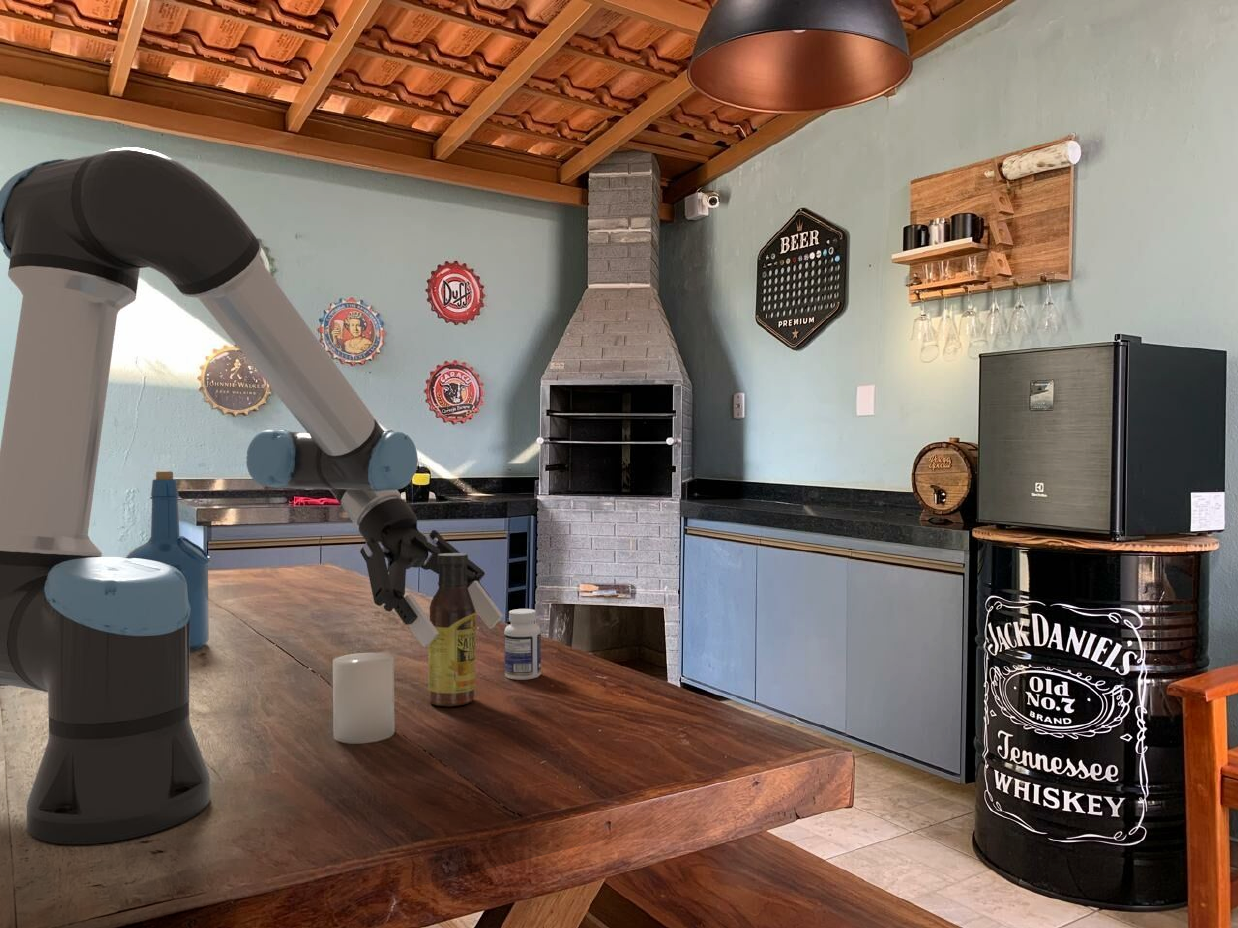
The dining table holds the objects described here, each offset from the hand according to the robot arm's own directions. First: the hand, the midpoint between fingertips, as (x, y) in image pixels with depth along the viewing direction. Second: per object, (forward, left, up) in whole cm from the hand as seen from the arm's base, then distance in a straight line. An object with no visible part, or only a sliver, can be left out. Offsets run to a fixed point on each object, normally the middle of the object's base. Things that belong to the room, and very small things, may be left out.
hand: (465, 631), depth 124 cm
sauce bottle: (+2, +1, -10) cm, 10 cm away
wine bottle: (+57, +31, -10) cm, 66 cm away
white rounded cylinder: (-6, +15, -10) cm, 19 cm away
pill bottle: (+10, -13, -10) cm, 19 cm away
